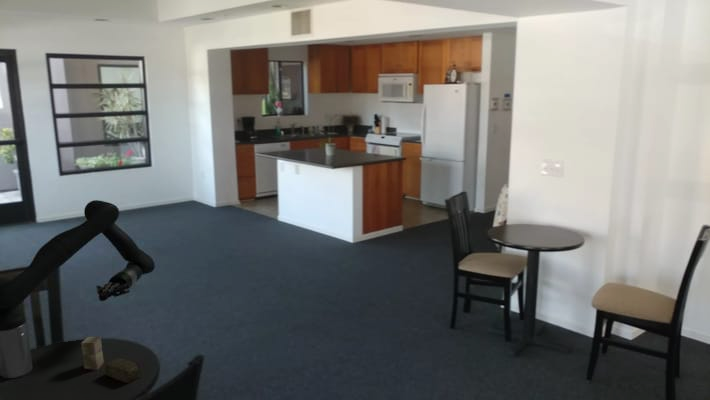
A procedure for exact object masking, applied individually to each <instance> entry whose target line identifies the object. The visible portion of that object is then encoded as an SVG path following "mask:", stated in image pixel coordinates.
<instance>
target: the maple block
mask: <svg viewBox="0 0 710 400" xmlns="http://www.w3.org/2000/svg"><path fill="white" fill-rule="evenodd" d="M80 345H81V350H82V351H81V352H82V358H83V364H84V365H83V366H84V370H85V369H86V370H85V371H87V369H88V371H89V370H90V371H91V370H95V371H97V370H99V369H100V368H101V367H102V366H103V364H104V363H105V360H104V354H103V345H102V337H101V336H87V337H86V338H85V339H84V340H83V341H82V342H81V343H80Z"/></svg>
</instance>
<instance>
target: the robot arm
mask: <svg viewBox="0 0 710 400" xmlns="http://www.w3.org/2000/svg"><path fill="white" fill-rule="evenodd" d="M83 215H84V216H85V219H86V220H85V221H84V222H82V223H81V224H79V225H77V226H75V227H72V228H70V229H68V230H65V231H62V232H59V233H58V234H56V235H55V236H54V237H52V238H51V239H50V240H48V241H47V242H45V243H44V245H42V246H41V247H40V248H39V249H38V251H37V252H36V254H35V255H34V257H33V258H32V261H31V262H30V264H29V265H28V266H27V267H26V268H25V269H24V270H23V271H22V272H21V273H20V274H18V275H16V276H15V277H14V278H13V279H9V278H6V277H0V377H2V378H5V379H15V378H19V377H22V376H25V375H27V374H28V373H30V372H31V371H32V370H33V368H34V367H33V366H34V365H33V360H32V355H31V349H30V348H31V347H30V342H29V336H28V328H27V324H26V323H27V321H26V316H25V313H23V311H22V310H21V309H20V306H19V305H21V304H22V303H23V302H24V301H25V300H26V299H27V298H28V297H29V296H30V295H31V294H32V293H33V292H34V291H35V289H37V288H38V287H39V285H40V284H42V283H43V282H44V281H45V280H46V279H47V278H49V277H50V276H51V275H52V274H53V273H54V272H55V271H56V270H57V269H59V268H60V267H61V266H63V265H64V264H65V263H66V262H67V261H69V260H70V259H71V258H72V257H73V256H75V255H76V254H77V252H78V253H79V251H80V250H81V249H82V248H83V247H85V246H86V245H88V243H89V242H90V241H92V240H93V239H94V238H96V237H97V236H99V235H100V234H102V235H103V236H105V238H106V239H107V240H108V241H109V242H110V243H111V244H112V246H113V247H114V248H115V249H116V250H117V252H118V253H119V255H120V256H121V257H122V259H123V260H124V261H126V262H127V264H126V266H125V267H124V268H123V269H121V270H119V271H118V272H117V273H115V274H114V275H113V276H111V277H110V278H109V280H108V281H107V283H106V284H104V285H103V286H102V285H96V293H97V294H98V300H99V302H104V301H106V300H108V299H109V298H112V297H114V298H116V297H118V296H123V295H125V294H128V293H130V289H131V287H133V286H134V285H135V283H136V282H138V281H139V280H140V279H141V277H142V275H147V274H150V273H152V272H153V271H154V270H155V267H156V265H155V261H154V259H153V257H152V256H150V255H149V254H148V253H146V252H145V251H144V250H142V249H140V248H139V246H138V245H137V244H136V243H135V241H134V240H133V239H132V238H131V236H129V235H128V234H127V233H126V232H125V231H124V230H122V228H120V227H119V226H118V225H117V224H116V222H117V221H118V219H119V215H120V210H119V207H118V206H117V205H115V204H113V203H111V202H107V201H104V200H100V199H99V200H98V199H97V200H96V199H94V200H91V201H89V202H88V203H87V204H86V205H85V208H84V214H83Z"/></svg>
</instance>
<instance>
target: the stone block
mask: <svg viewBox="0 0 710 400" xmlns="http://www.w3.org/2000/svg"><path fill="white" fill-rule="evenodd" d="M140 368H141V367H140V366H139V364H138V363H136V362H134V361H133V362H132V361H131V360H127V359H125V358H121V357H117V358H115V359H113V360H110V361H109V362H107V363H105V375H106V376H108V377H109V378H112V379H115V380H116V381H119V382H122V383H126V384H127V383H132V382H134V381H135V380H137V379H139V378H140V377H141V369H140Z"/></svg>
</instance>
